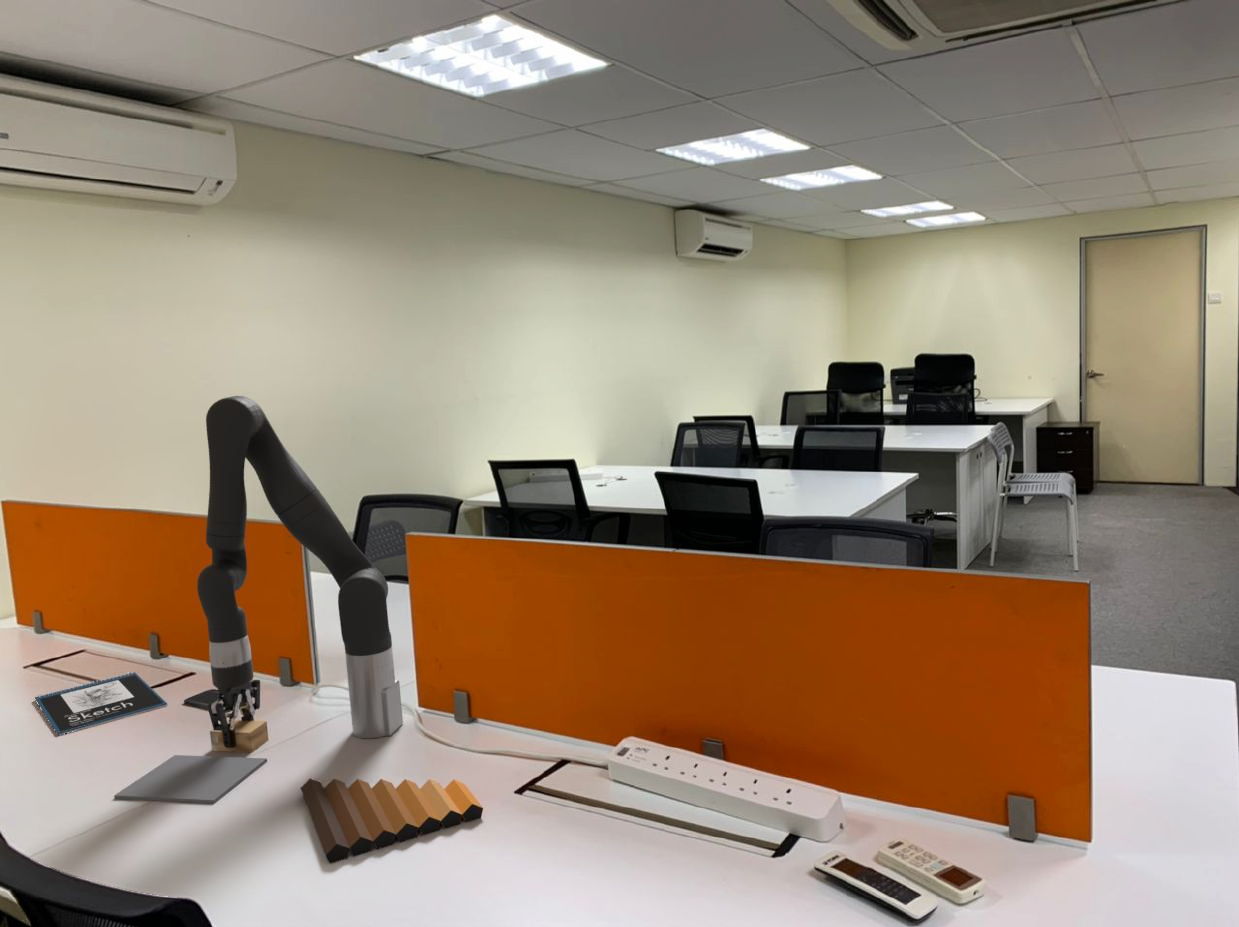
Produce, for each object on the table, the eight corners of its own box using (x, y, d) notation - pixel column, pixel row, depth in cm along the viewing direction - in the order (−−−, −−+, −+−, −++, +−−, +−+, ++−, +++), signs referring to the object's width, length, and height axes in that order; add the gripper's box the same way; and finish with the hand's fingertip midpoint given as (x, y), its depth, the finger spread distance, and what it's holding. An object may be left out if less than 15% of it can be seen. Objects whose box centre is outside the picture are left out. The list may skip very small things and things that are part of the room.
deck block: (268, 739, 180) (266, 721, 179) (252, 752, 175) (250, 732, 174) (229, 738, 182) (227, 719, 181) (212, 750, 176) (209, 731, 176)
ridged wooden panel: (301, 799, 155) (326, 868, 133) (299, 780, 155) (324, 847, 133) (439, 762, 167) (484, 820, 145) (438, 744, 166) (482, 800, 144)
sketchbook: (58, 739, 188) (57, 730, 188) (34, 703, 210) (33, 694, 210) (168, 708, 202) (166, 699, 202) (134, 676, 224) (133, 669, 224)
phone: (211, 688, 209) (254, 697, 202) (211, 693, 210) (254, 701, 202) (181, 700, 203) (224, 709, 195) (181, 705, 203) (225, 714, 195)
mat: (267, 761, 170) (266, 758, 170) (214, 803, 154) (213, 800, 154) (175, 757, 174) (174, 754, 174) (114, 798, 158) (114, 795, 158)
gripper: (225, 672, 168) (234, 757, 170) (268, 647, 182) (277, 726, 184) (190, 671, 170) (200, 755, 172) (236, 647, 184) (244, 724, 186)
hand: (240, 739), depth 178 cm, fingers closed on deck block, 5 cm apart
